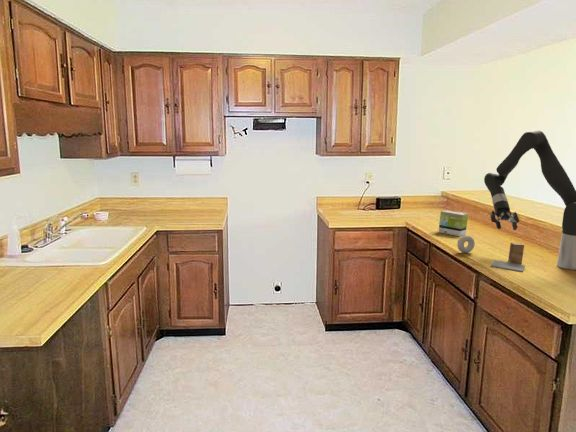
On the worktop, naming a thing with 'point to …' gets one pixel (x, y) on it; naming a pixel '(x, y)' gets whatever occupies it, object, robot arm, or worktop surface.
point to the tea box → (453, 222)
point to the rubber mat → (508, 266)
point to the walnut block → (516, 253)
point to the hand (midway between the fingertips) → (507, 229)
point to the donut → (470, 244)
